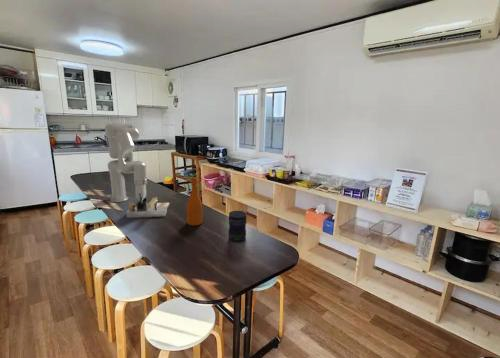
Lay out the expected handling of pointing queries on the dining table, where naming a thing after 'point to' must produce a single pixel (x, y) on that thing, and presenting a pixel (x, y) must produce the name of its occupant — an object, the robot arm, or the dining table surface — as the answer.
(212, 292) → the dining table surface
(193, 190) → the wine bottle
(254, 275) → the dining table surface
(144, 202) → the dark grey block
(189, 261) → the dining table surface
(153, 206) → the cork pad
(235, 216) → the black camera lens
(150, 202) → the latch lever
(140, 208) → the robot arm
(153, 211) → the plane body
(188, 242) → the dining table surface
